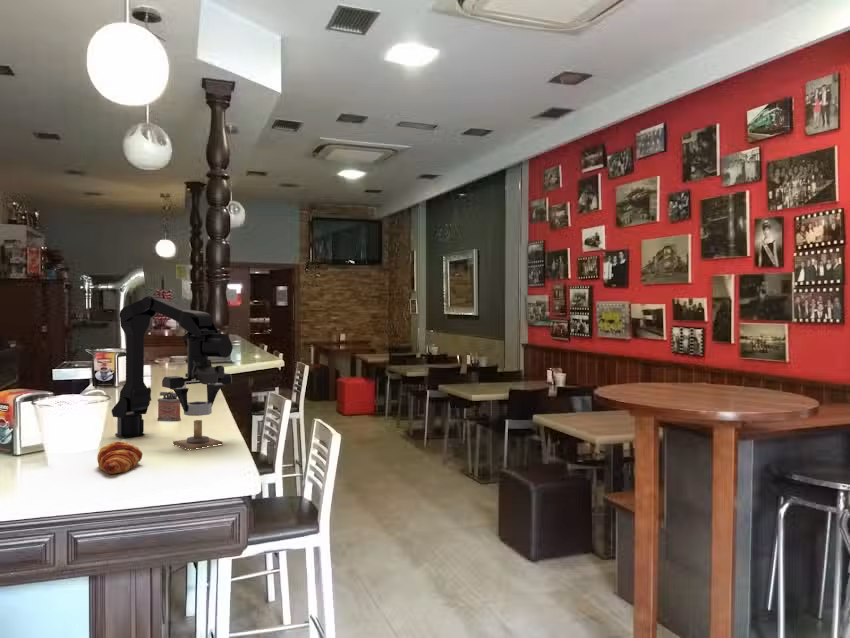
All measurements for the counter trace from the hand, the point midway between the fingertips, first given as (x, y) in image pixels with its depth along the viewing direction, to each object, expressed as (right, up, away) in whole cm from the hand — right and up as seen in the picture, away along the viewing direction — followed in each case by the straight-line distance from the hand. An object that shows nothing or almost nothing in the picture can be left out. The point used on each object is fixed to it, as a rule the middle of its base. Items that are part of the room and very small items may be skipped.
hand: (197, 410), depth 185 cm
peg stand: (0, -10, 0) cm, 10 cm away
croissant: (-11, -11, -25) cm, 29 cm away
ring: (0, -1, 0) cm, 1 cm away
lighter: (-23, -9, +38) cm, 45 cm away
